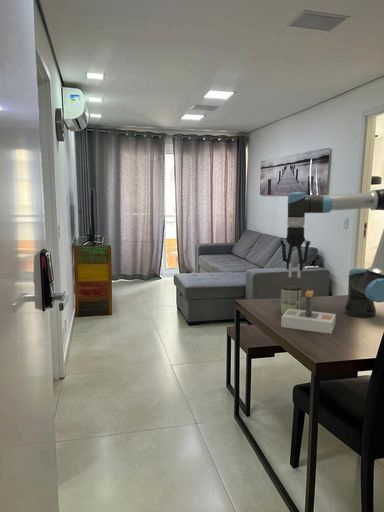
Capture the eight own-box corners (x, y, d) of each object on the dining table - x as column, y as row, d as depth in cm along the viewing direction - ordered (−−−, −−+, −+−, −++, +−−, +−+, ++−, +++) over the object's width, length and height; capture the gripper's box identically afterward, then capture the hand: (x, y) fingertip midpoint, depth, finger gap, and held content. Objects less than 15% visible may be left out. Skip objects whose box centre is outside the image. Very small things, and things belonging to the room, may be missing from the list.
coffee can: (279, 309, 204) (279, 283, 201) (299, 309, 203) (299, 283, 200) (281, 315, 193) (282, 288, 191) (302, 315, 192) (303, 288, 190)
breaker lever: (312, 312, 179) (313, 290, 177) (310, 316, 174) (311, 293, 172) (307, 312, 180) (307, 290, 178) (304, 315, 175) (305, 293, 173)
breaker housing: (335, 324, 179) (335, 313, 178) (331, 333, 167) (331, 322, 166) (288, 318, 189) (288, 308, 188) (281, 326, 176) (281, 316, 176)
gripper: (275, 226, 174) (274, 277, 178) (313, 227, 167) (311, 280, 170) (279, 225, 181) (278, 274, 184) (315, 226, 173) (314, 276, 177)
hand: (294, 276), depth 177 cm, fingers open, 3 cm apart
